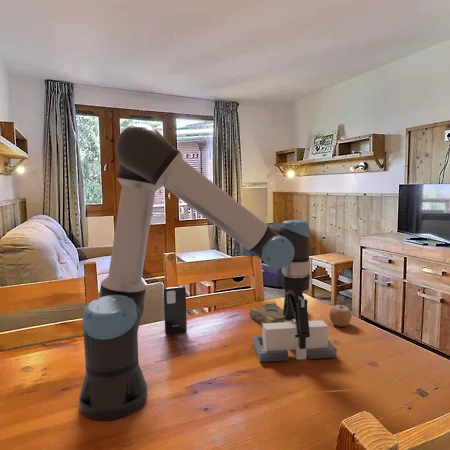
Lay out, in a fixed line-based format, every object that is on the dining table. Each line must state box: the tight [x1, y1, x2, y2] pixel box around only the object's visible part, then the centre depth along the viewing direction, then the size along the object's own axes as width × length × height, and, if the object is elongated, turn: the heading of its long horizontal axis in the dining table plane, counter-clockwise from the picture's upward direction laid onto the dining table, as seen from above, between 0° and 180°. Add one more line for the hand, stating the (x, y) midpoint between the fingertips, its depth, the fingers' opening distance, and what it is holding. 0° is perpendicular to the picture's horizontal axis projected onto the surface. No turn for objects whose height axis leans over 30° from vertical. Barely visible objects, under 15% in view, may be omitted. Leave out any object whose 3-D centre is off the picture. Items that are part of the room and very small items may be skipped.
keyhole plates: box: [252, 335, 338, 363], centre depth 106 cm, size 22×12×2 cm, turn 96°
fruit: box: [329, 302, 353, 328], centre depth 124 cm, size 8×7×8 cm
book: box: [249, 301, 295, 326], centre depth 129 cm, size 15×11×5 cm
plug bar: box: [261, 320, 329, 351], centre depth 103 cm, size 18×4×8 cm, turn 96°
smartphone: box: [163, 286, 188, 336], centre depth 118 cm, size 7×1×16 cm, turn 107°
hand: (295, 349), depth 103 cm, fingers open, 10 cm apart
